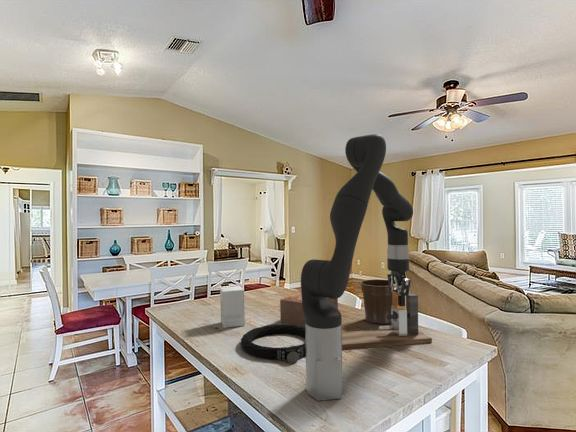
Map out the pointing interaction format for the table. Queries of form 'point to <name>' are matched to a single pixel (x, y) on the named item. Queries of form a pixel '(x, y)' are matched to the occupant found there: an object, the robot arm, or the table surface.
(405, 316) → the end link
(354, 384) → the table surface
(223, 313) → the supplement box
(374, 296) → the plant pot
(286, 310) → the tissue box cover
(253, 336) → the cable lock
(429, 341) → the board
